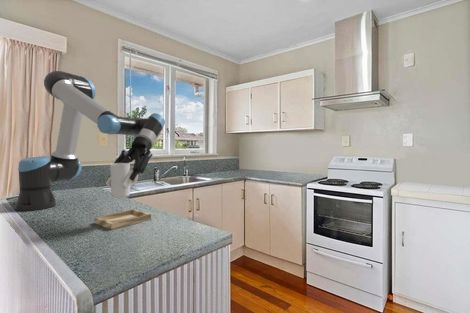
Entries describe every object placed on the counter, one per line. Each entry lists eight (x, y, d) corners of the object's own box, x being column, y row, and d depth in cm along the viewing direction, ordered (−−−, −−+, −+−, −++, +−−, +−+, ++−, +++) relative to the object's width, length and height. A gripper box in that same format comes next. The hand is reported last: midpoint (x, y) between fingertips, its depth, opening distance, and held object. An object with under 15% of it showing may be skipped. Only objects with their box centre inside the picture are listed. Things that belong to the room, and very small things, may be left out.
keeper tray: (95, 223, 97) (95, 217, 97) (133, 214, 109) (133, 209, 109) (111, 230, 89) (111, 224, 89) (151, 219, 102) (151, 214, 101)
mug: (113, 198, 93) (113, 165, 92) (108, 195, 98) (107, 163, 97) (141, 194, 99) (141, 163, 99) (135, 191, 104) (134, 162, 104)
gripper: (167, 148, 109) (144, 193, 95) (129, 148, 115) (101, 190, 101) (160, 135, 104) (133, 181, 89) (120, 135, 110) (89, 178, 96)
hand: (116, 186), depth 95 cm, fingers closed on mug, 7 cm apart
